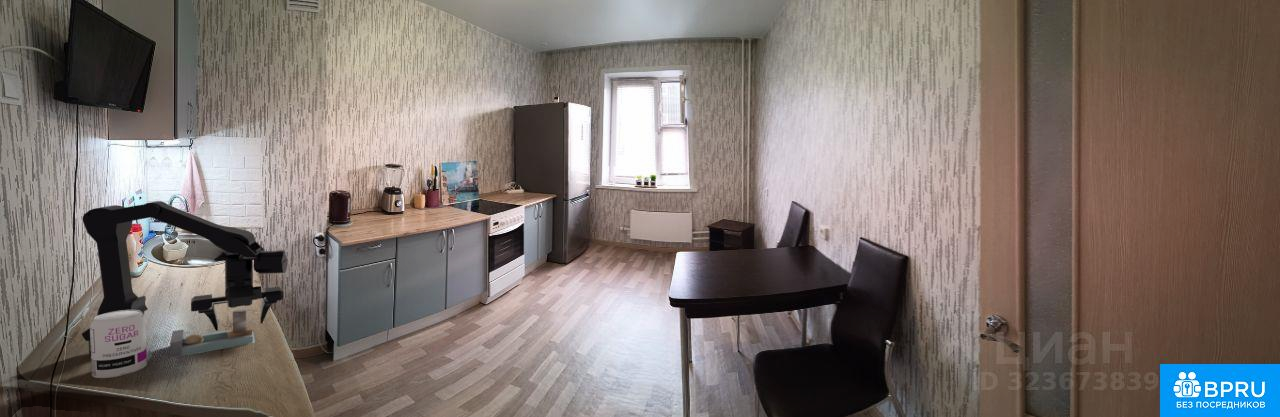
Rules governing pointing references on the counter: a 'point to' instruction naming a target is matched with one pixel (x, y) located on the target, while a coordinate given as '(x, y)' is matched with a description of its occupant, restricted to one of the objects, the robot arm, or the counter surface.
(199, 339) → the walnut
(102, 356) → the supplement can
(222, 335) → the board
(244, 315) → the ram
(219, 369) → the counter surface
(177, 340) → the grey angular block
